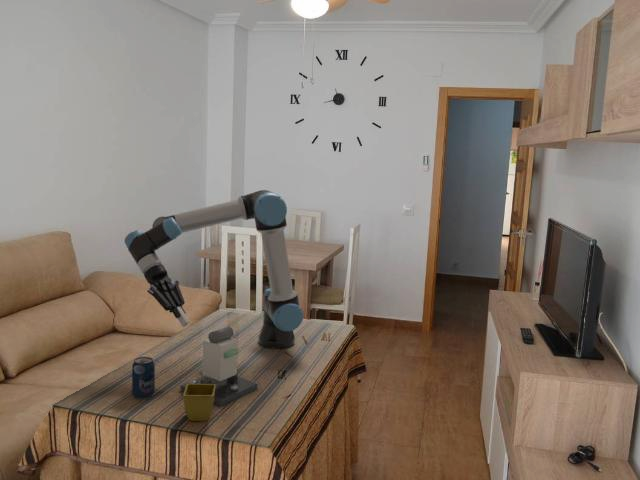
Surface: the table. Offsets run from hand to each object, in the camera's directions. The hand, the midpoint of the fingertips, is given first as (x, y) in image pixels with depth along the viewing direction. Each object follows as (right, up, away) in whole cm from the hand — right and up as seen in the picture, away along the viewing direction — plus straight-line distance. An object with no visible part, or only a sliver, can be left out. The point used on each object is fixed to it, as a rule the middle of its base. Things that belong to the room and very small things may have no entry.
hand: (186, 324), depth 206 cm
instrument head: (+13, -18, -7) cm, 23 cm away
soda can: (-11, -21, -13) cm, 27 cm away
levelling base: (+12, -21, -6) cm, 25 cm away
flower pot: (+10, -25, -26) cm, 37 cm away
